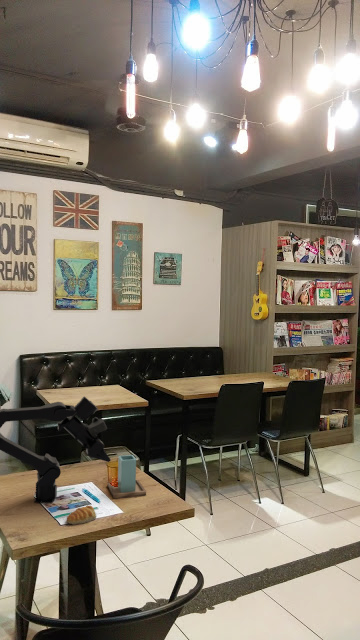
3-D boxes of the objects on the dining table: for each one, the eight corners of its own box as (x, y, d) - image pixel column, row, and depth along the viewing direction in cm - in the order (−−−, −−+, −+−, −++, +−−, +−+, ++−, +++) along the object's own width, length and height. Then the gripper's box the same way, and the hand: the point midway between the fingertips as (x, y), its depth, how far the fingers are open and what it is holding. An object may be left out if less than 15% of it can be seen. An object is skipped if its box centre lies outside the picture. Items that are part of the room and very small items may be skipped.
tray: (113, 498, 176) (113, 494, 176) (107, 486, 187) (107, 482, 187) (146, 495, 180) (146, 491, 179) (137, 483, 191) (138, 479, 191)
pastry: (73, 528, 153) (73, 516, 153) (61, 521, 158) (61, 509, 158) (98, 519, 160) (98, 508, 160) (86, 512, 164) (86, 501, 164)
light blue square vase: (120, 492, 180) (121, 460, 179) (117, 487, 185) (118, 456, 184) (135, 491, 182) (136, 459, 181) (131, 485, 187) (132, 454, 186)
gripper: (98, 419, 169) (128, 448, 173) (89, 407, 186) (117, 433, 190) (74, 443, 166) (106, 472, 171) (68, 428, 184) (97, 455, 188)
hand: (107, 456), depth 180 cm, fingers open, 9 cm apart
